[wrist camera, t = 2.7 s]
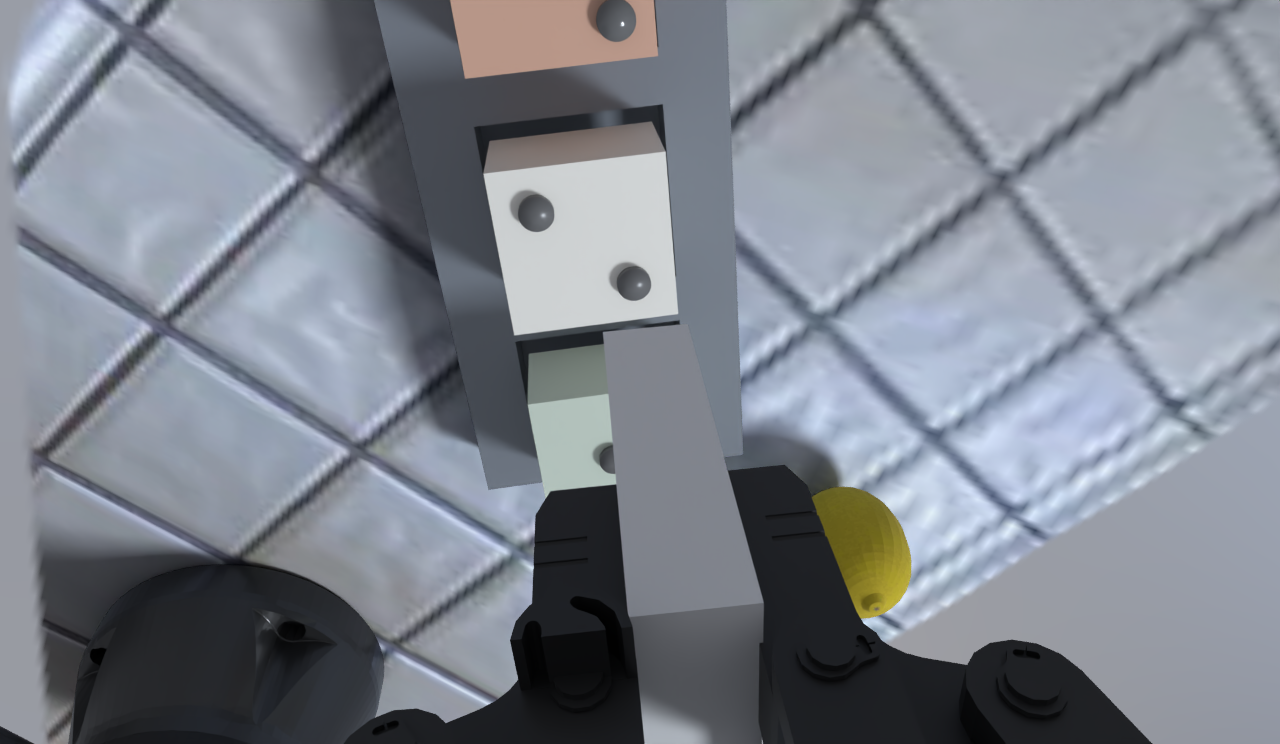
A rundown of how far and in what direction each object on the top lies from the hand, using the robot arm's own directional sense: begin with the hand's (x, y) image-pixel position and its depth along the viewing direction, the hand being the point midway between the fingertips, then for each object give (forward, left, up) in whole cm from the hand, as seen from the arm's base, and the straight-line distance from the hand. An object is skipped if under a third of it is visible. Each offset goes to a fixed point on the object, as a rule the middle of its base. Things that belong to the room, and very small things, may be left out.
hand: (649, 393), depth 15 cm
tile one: (-1, -12, -18) cm, 22 cm away
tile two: (-1, -3, -18) cm, 19 cm away
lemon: (+10, -22, -22) cm, 33 cm away
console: (-1, -3, -22) cm, 22 cm away
